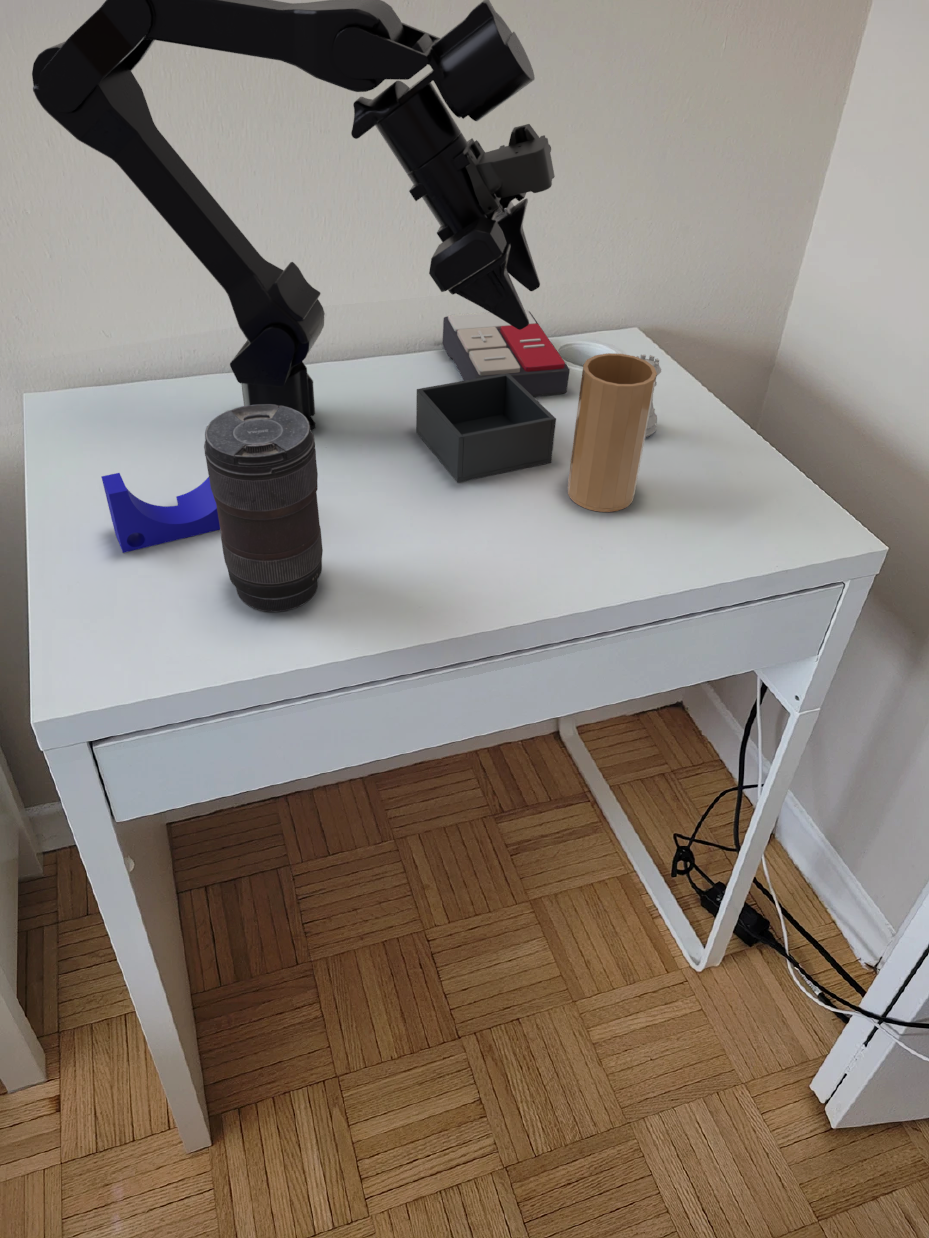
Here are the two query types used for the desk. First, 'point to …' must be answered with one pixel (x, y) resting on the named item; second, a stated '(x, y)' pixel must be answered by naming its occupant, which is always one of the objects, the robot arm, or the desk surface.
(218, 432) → the camera lens
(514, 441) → the bin
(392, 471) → the desk surface
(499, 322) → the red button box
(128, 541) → the blue semicircular cradle bracket
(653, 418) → the rook chess piece
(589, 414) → the wooden cup
